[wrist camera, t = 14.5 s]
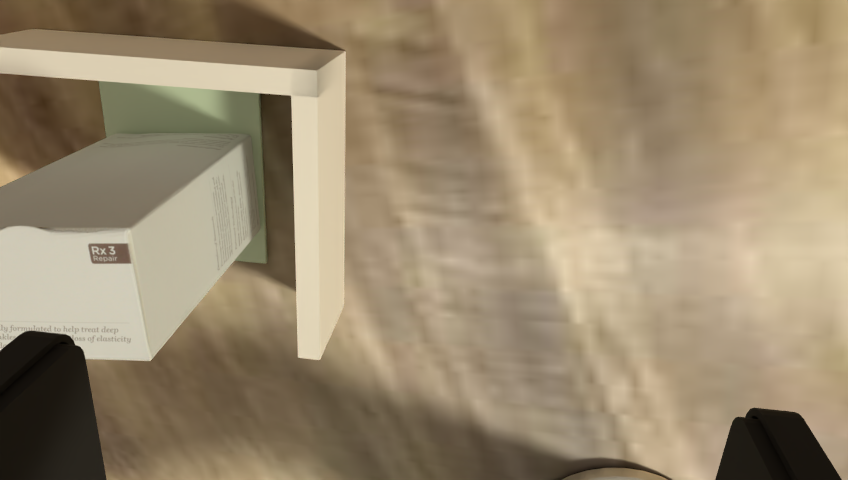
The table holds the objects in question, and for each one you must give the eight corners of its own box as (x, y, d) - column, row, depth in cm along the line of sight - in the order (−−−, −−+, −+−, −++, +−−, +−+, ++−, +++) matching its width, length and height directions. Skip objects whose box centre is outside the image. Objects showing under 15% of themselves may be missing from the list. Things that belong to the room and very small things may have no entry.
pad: (267, 261, 41) (266, 263, 41) (124, 247, 42) (121, 249, 42) (259, 77, 37) (257, 78, 37) (99, 65, 37) (96, 66, 37)
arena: (344, 305, 42) (320, 360, 36) (75, 278, 43) (13, 327, 38) (345, 50, 36) (317, 70, 30) (33, 28, 37) (-49, 43, 32)
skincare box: (134, 224, 41) (-50, 364, 27) (114, 125, 38) (-98, 224, 25) (270, 228, 40) (150, 374, 26) (259, 126, 38) (120, 230, 24)
